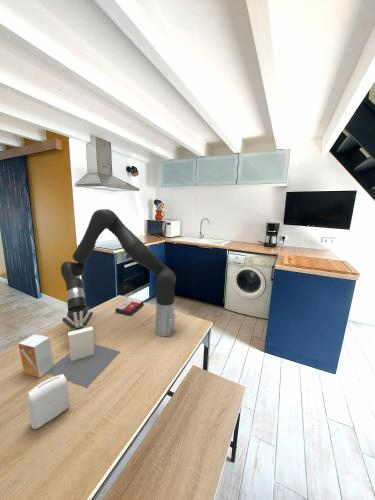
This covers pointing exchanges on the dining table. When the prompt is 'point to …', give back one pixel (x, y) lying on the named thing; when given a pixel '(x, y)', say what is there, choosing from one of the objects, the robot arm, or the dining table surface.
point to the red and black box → (129, 306)
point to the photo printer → (48, 400)
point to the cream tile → (81, 343)
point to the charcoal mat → (84, 366)
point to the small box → (36, 355)
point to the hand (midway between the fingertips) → (80, 336)
